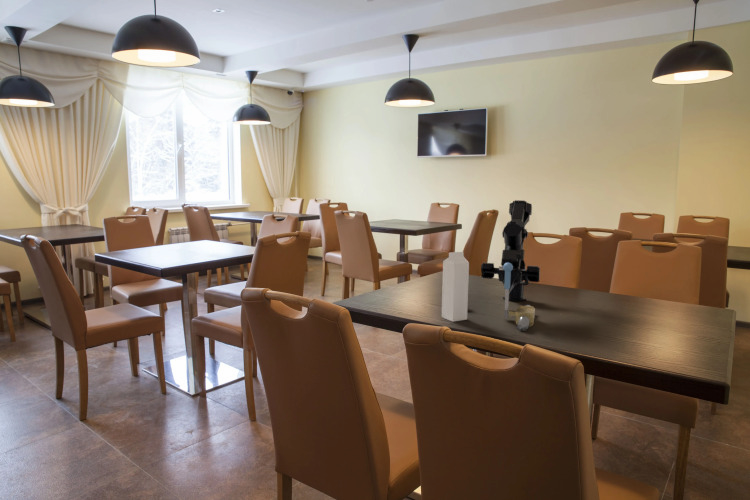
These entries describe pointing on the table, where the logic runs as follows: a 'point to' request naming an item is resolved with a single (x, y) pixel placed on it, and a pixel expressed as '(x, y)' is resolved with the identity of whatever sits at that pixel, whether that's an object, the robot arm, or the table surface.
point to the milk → (455, 287)
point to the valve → (524, 316)
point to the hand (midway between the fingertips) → (507, 293)
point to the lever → (507, 285)
